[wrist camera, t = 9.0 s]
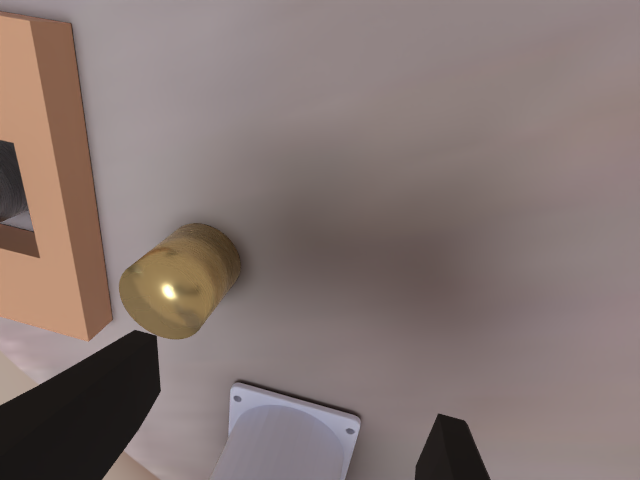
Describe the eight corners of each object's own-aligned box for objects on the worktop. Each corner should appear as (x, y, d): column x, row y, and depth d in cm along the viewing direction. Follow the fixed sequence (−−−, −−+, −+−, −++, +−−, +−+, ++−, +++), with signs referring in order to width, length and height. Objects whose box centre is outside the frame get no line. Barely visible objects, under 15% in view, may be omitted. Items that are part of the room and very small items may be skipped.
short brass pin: (239, 298, 21) (204, 348, 18) (170, 280, 22) (123, 326, 18) (242, 233, 19) (204, 275, 16) (167, 215, 20) (114, 252, 16)
